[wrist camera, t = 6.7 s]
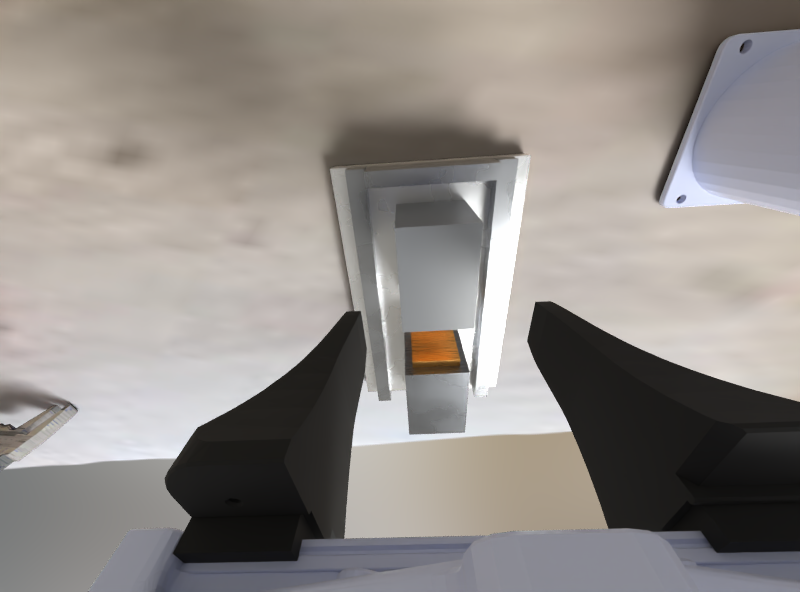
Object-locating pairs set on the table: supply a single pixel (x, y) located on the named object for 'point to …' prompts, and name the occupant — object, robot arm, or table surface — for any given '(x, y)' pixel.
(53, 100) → the table surface
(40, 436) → the caliper
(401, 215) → the block
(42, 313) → the table surface
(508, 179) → the rail
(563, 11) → the table surface
